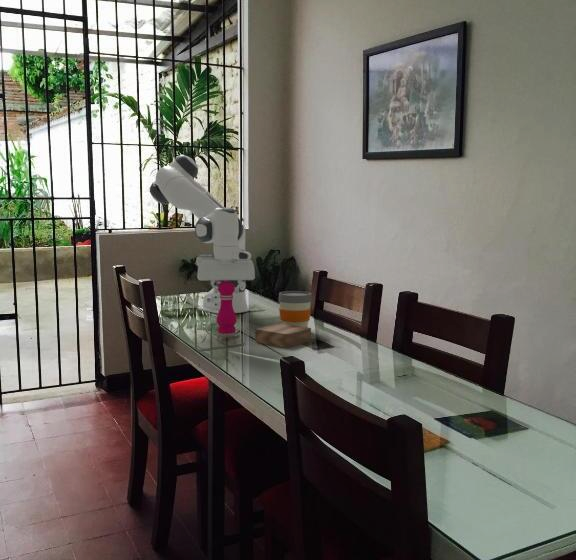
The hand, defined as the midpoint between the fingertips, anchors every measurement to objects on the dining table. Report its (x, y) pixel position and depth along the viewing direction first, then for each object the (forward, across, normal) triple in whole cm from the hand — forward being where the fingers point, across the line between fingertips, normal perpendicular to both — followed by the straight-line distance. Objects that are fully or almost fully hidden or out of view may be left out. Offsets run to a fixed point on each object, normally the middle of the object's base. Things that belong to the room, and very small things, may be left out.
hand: (226, 292), depth 229 cm
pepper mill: (+14, 0, 0) cm, 14 cm away
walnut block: (+17, +20, -4) cm, 27 cm away
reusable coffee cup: (+17, +26, +10) cm, 33 cm away
